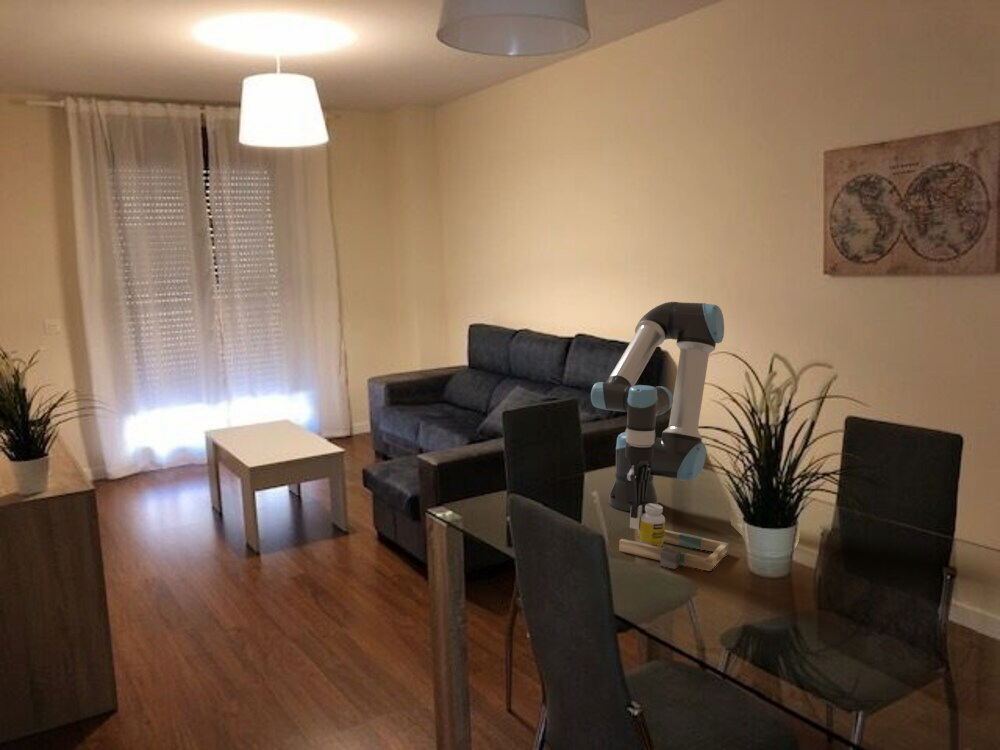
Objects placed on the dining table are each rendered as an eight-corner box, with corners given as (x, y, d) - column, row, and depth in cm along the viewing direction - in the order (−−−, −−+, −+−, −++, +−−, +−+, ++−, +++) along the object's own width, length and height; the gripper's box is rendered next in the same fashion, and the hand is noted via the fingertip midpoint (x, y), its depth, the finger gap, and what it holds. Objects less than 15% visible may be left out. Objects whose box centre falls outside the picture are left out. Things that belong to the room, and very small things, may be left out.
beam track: (640, 534, 230) (640, 521, 229) (727, 553, 217) (728, 539, 216) (613, 555, 215) (614, 540, 215) (706, 577, 202) (706, 562, 201)
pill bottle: (646, 553, 216) (649, 511, 214) (634, 543, 222) (637, 503, 220) (667, 550, 219) (671, 509, 216) (654, 541, 225) (658, 501, 222)
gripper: (637, 436, 225) (632, 518, 229) (616, 446, 214) (612, 531, 218) (662, 441, 221) (657, 524, 225) (643, 451, 210) (638, 538, 214)
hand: (635, 527), depth 222 cm, fingers closed
